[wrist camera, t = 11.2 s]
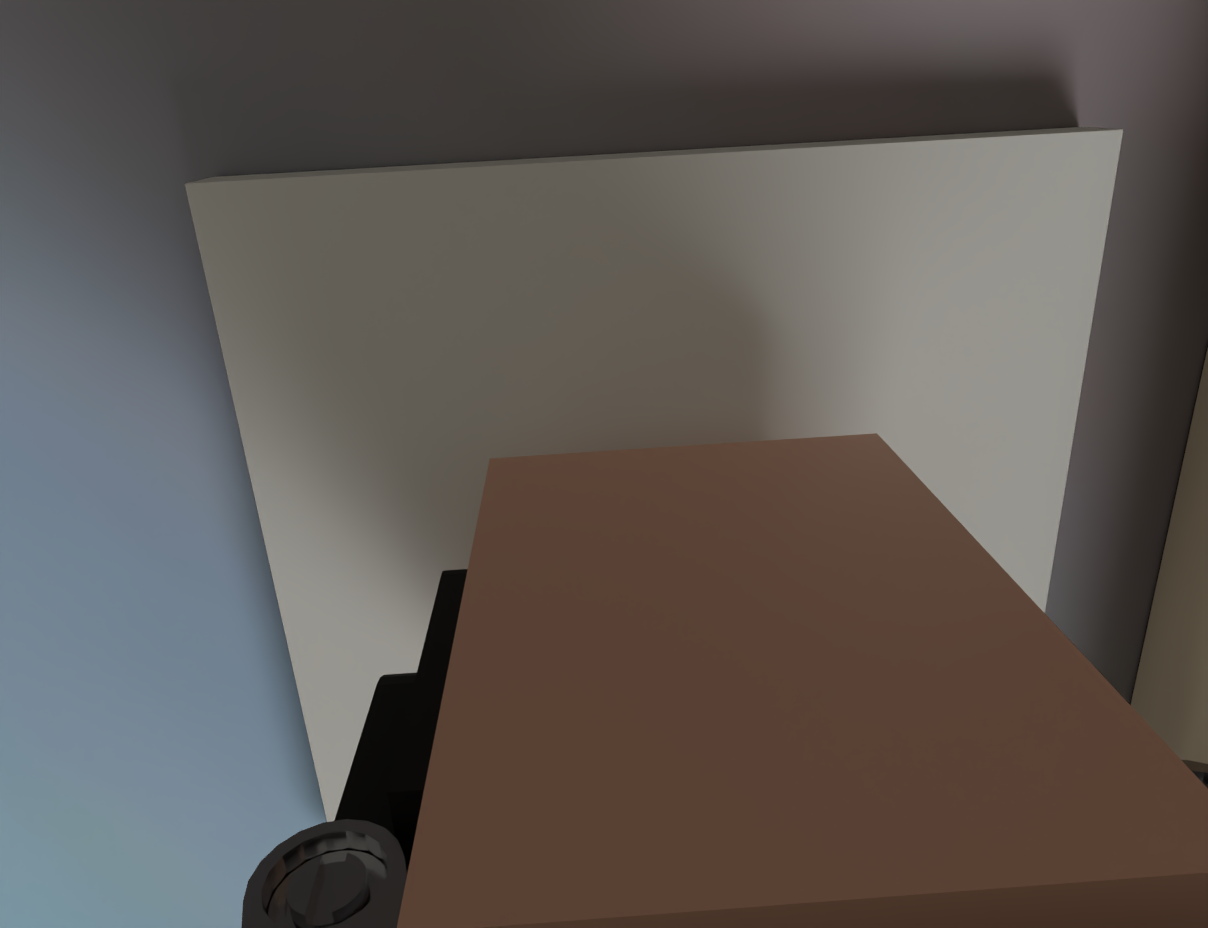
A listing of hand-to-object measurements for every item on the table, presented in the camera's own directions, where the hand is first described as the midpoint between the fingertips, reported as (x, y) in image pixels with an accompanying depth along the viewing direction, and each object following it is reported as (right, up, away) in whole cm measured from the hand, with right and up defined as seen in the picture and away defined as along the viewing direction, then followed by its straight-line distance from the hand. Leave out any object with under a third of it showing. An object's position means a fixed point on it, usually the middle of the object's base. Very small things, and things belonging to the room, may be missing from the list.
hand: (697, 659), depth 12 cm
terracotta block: (0, 0, +1) cm, 1 cm away
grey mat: (0, +1, +3) cm, 3 cm away
